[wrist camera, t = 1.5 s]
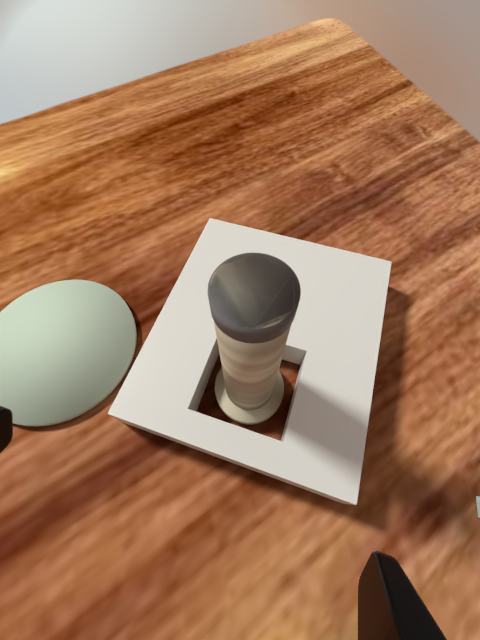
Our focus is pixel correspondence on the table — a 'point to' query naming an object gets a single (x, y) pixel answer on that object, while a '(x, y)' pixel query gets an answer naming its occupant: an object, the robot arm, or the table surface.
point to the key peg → (252, 332)
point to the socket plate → (301, 348)
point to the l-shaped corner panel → (478, 505)
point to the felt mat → (63, 350)
